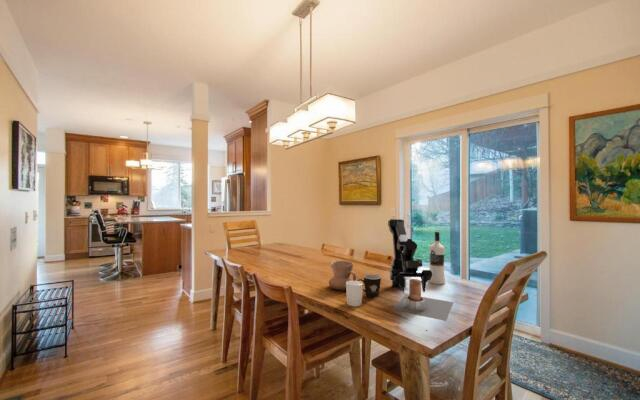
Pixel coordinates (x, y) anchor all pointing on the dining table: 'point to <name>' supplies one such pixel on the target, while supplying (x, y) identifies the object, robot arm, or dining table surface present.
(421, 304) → the stone sleeve
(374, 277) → the coffee mug
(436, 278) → the vodka
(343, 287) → the ceramic jug
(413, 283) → the terracotta plug
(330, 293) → the dining table surface
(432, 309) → the charcoal mat
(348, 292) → the white cup
